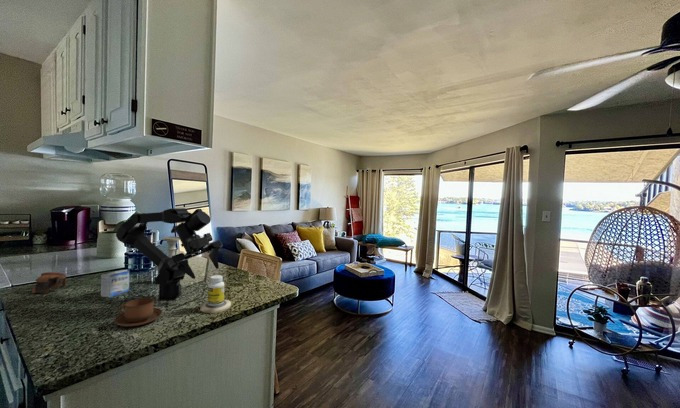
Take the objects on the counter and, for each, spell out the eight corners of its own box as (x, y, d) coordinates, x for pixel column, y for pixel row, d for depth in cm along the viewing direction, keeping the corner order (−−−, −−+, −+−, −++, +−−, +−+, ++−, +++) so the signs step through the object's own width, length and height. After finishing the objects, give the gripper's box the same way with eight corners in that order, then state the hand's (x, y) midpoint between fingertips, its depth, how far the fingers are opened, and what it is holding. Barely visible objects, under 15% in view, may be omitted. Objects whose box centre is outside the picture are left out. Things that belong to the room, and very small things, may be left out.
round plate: (196, 313, 93) (196, 309, 93) (205, 302, 102) (205, 299, 102) (227, 312, 94) (227, 308, 94) (233, 301, 104) (233, 298, 104)
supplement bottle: (204, 306, 96) (205, 278, 96) (212, 300, 101) (213, 274, 101) (219, 306, 96) (220, 279, 95) (226, 301, 101) (227, 274, 101)
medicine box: (109, 298, 104) (110, 275, 104) (100, 296, 105) (100, 274, 105) (129, 291, 112) (129, 270, 112) (120, 290, 113) (121, 269, 112)
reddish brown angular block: (22, 294, 105) (32, 273, 109) (51, 298, 114) (60, 278, 118) (45, 290, 103) (54, 268, 107) (73, 294, 111) (80, 273, 115)
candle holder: (156, 281, 125) (157, 237, 125) (176, 277, 133) (177, 235, 132) (165, 285, 121) (166, 239, 120) (185, 280, 128) (186, 237, 128)
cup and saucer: (108, 333, 78) (108, 311, 78) (122, 316, 89) (122, 297, 89) (157, 326, 83) (158, 306, 83) (165, 311, 94) (165, 293, 94)
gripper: (169, 235, 92) (189, 276, 90) (219, 221, 107) (237, 256, 105) (159, 248, 98) (178, 287, 96) (208, 233, 113) (225, 266, 111)
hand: (206, 273), depth 102 cm, fingers open, 9 cm apart
